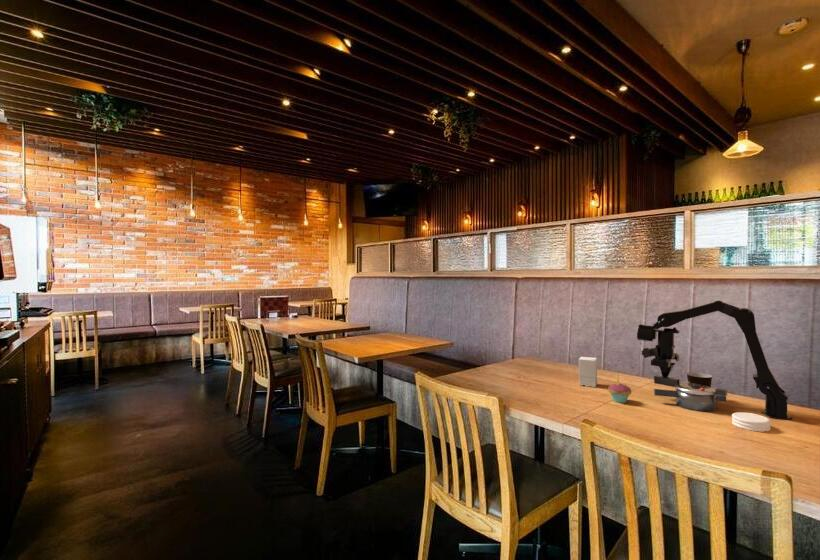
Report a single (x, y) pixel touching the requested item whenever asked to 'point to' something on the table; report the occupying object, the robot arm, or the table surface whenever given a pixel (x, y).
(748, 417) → the coaster
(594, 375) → the supplement box
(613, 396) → the cupcake
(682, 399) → the pot
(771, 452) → the table surface
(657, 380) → the lid
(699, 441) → the table surface
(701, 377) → the coffee mug
